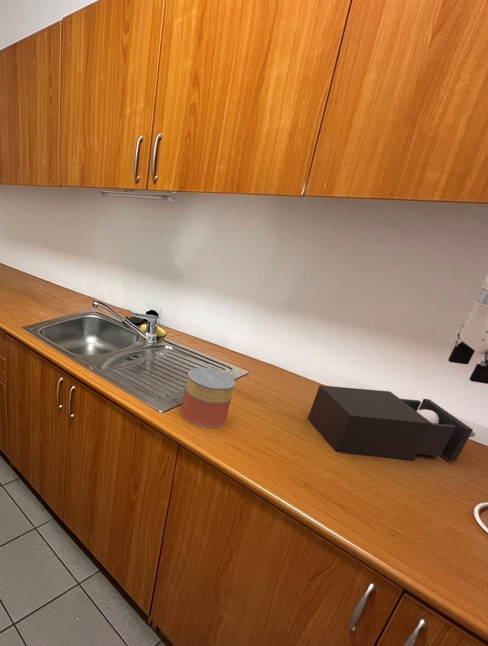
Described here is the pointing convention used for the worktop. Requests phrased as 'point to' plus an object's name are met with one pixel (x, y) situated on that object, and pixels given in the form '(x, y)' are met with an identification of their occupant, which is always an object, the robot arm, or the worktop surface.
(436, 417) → the egg
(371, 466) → the worktop surface
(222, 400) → the canned food
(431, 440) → the black open angular box
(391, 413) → the dark brown box
